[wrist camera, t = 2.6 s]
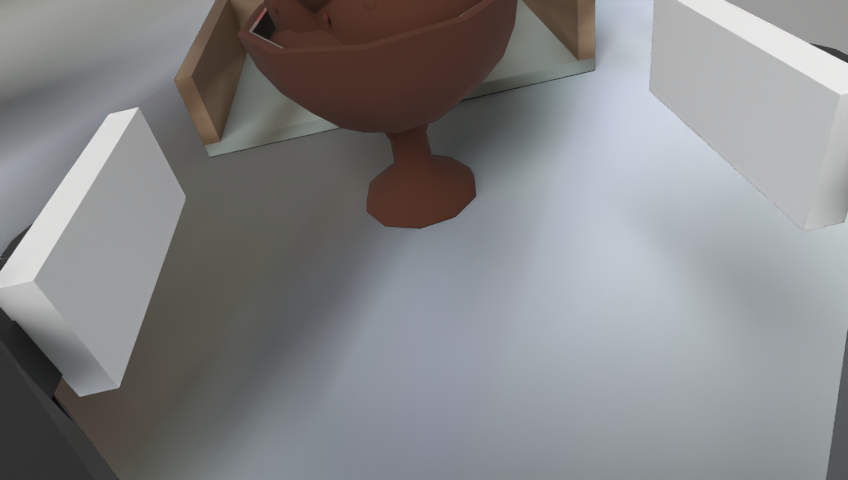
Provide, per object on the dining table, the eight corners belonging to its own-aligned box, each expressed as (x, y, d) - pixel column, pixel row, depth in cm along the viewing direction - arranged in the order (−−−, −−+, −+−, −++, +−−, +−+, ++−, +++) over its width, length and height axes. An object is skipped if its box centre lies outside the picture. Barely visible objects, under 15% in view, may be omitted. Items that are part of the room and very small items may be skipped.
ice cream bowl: (578, 214, 25) (570, -222, 16) (329, 300, 24) (163, -125, 15) (486, 117, 34) (446, -209, 24) (296, 176, 32) (177, -145, 23)
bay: (209, 157, 36) (173, 80, 33) (241, 57, 49) (217, -4, 46) (594, 69, 36) (595, -16, 33) (521, -7, 49) (516, -72, 46)
